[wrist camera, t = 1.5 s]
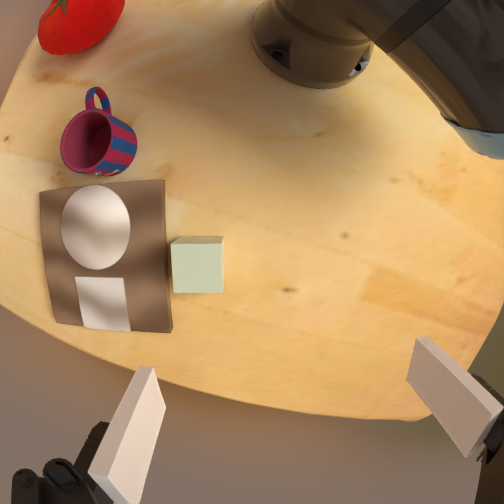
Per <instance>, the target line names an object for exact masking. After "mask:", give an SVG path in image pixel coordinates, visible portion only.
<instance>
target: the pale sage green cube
mask: <svg viewBox="0 0 504 504" xmlns="http://www.w3.org/2000/svg"><path fill="white" fill-rule="evenodd" d="M171 261H172V277H173V290H174V293H222V292H223V285H224V236H190V237H179V238H178V239H177V240H175V241H174V242H173V243H171Z"/></svg>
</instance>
